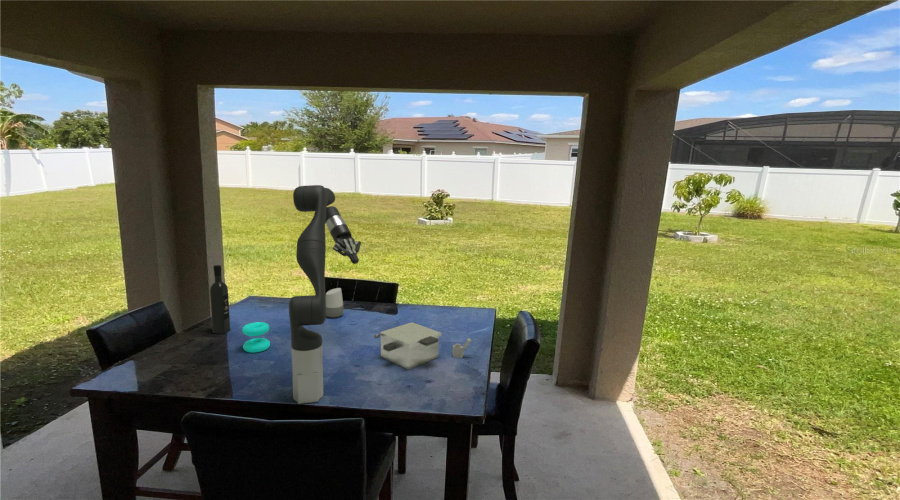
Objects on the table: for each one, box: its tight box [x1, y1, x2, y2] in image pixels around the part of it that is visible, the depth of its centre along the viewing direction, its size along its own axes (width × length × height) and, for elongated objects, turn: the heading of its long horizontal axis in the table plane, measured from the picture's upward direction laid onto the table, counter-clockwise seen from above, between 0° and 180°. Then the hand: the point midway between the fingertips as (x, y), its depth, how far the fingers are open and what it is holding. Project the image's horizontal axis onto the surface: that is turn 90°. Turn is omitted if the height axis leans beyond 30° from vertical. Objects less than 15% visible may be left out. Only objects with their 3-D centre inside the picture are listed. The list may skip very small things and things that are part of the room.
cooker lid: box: [379, 321, 442, 347], centre depth 169 cm, size 20×17×1 cm
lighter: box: [452, 337, 472, 359], centre depth 173 cm, size 7×2×8 cm, turn 76°
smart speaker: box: [325, 287, 344, 319], centre depth 218 cm, size 10×9×14 cm
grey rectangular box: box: [373, 322, 440, 370], centre depth 172 cm, size 17×24×10 cm
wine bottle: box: [209, 264, 231, 335], centre depth 191 cm, size 6×6×30 cm
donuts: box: [241, 321, 271, 354], centre depth 176 cm, size 10×10×10 cm
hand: (356, 262), depth 174 cm, fingers closed
